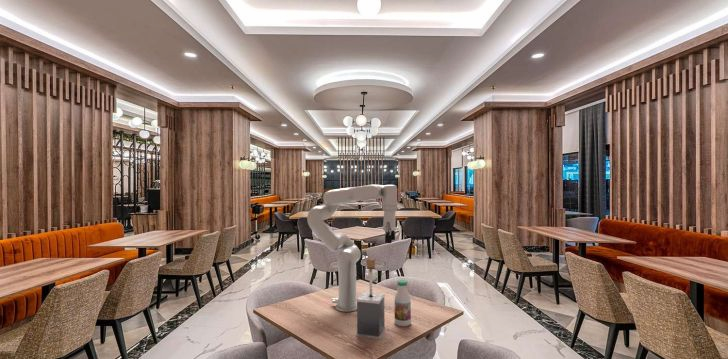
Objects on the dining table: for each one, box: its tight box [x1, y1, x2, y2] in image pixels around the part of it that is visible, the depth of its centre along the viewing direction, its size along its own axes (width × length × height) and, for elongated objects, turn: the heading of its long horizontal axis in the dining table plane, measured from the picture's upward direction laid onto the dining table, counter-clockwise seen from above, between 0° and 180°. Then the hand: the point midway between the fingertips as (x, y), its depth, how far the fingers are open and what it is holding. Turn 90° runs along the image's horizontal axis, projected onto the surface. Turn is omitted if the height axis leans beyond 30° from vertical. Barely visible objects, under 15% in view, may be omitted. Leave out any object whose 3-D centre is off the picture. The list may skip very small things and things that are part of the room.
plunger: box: [365, 257, 376, 297], centre depth 140 cm, size 8×8×20 cm
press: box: [356, 291, 386, 340], centre depth 141 cm, size 10×13×16 cm
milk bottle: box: [394, 279, 412, 327], centre depth 149 cm, size 8×8×20 cm
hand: (390, 241), depth 162 cm, fingers open, 9 cm apart
